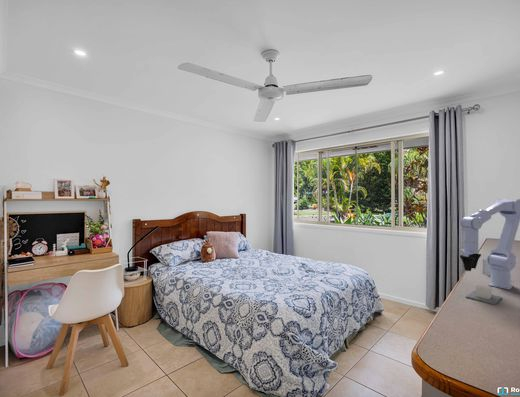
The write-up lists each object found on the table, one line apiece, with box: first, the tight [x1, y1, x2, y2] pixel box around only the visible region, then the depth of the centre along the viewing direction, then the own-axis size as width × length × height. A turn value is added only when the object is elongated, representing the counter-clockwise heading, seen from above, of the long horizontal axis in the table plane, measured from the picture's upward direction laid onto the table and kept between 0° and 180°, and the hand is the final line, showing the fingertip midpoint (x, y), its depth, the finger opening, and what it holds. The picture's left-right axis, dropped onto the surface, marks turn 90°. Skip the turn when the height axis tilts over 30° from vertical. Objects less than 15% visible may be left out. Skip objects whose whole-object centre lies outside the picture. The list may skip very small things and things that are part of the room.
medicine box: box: [482, 258, 491, 278], centre depth 154 cm, size 8×4×9 cm, turn 168°
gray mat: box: [465, 290, 503, 306], centre depth 120 cm, size 12×10×1 cm
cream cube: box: [475, 283, 493, 299], centre depth 120 cm, size 4×4×4 cm
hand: (470, 269), depth 132 cm, fingers open, 7 cm apart
